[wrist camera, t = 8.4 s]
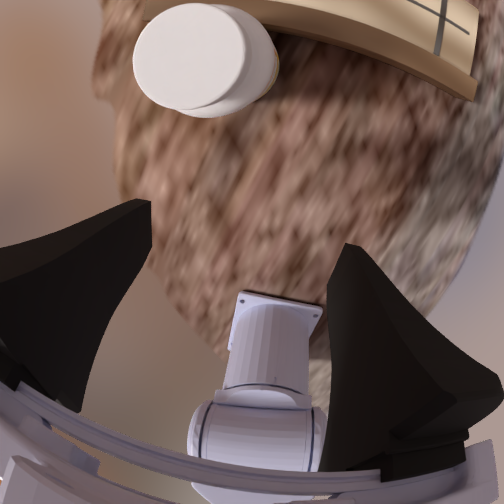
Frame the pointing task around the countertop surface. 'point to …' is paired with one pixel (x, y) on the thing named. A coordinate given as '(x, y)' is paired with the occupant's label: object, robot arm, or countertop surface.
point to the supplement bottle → (205, 59)
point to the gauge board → (376, 32)
